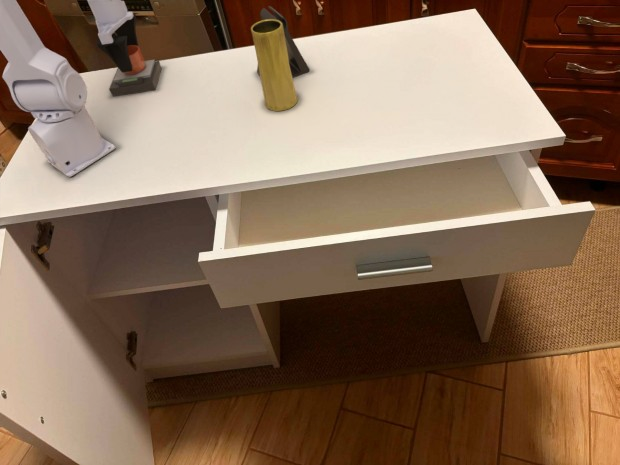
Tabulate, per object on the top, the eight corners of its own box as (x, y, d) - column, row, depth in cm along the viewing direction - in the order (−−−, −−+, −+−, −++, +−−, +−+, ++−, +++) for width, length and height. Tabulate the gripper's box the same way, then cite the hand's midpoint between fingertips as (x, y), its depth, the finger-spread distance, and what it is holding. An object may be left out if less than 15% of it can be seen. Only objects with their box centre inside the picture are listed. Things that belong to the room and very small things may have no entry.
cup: (131, 78, 97) (123, 59, 94) (118, 71, 99) (109, 53, 96) (151, 66, 99) (144, 48, 96) (137, 61, 101) (130, 42, 99)
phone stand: (268, 86, 92) (255, 25, 84) (257, 73, 96) (243, 14, 87) (309, 71, 94) (301, 10, 85) (297, 59, 98) (288, -1, 89)
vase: (293, 111, 85) (279, 34, 75) (261, 111, 87) (243, 35, 76) (300, 92, 89) (288, 16, 79) (269, 93, 91) (253, 18, 80)
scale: (112, 96, 97) (107, 85, 95) (121, 74, 103) (116, 63, 102) (155, 90, 97) (151, 78, 95) (161, 68, 103) (157, 56, 101)
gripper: (114, 5, 83) (143, 76, 93) (129, -25, 92) (155, 42, 102) (74, 11, 83) (108, 82, 93) (94, -20, 93) (123, 47, 103)
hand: (130, 61), depth 98 cm, fingers open, 7 cm apart
